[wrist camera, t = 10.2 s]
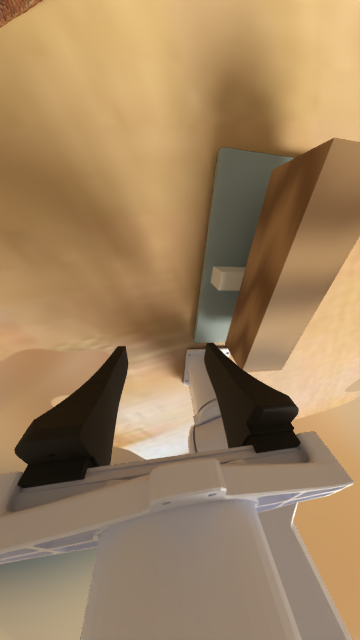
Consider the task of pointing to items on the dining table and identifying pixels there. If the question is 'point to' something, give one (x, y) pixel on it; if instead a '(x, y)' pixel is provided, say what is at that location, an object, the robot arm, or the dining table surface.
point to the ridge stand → (230, 236)
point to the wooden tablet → (14, 9)
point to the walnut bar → (296, 252)
